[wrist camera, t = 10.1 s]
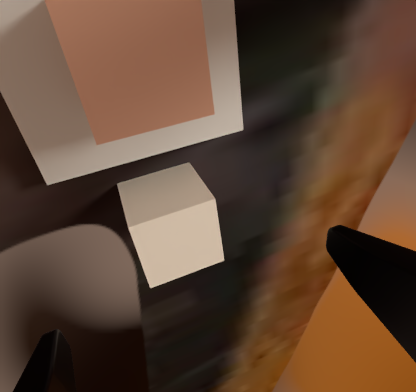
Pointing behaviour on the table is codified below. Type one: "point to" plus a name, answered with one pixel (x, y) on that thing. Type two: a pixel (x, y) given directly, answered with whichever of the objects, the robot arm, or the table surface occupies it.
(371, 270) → the robot arm
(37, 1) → the baseplate
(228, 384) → the table surface
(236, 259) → the table surface
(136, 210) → the cream block
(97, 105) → the terracotta block
